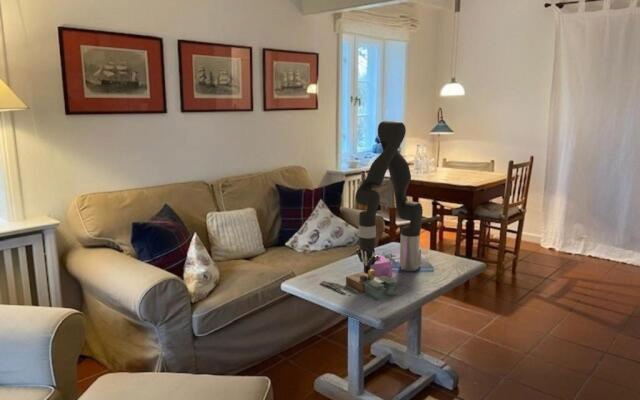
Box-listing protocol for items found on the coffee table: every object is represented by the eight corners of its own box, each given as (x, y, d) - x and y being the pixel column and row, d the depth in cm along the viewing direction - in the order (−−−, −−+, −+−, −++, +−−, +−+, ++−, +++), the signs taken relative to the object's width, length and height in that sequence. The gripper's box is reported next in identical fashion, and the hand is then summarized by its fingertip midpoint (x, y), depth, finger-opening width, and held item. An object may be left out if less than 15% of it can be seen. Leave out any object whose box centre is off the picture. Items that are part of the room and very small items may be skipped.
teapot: (398, 281, 223) (398, 260, 220) (378, 285, 218) (378, 264, 216) (377, 269, 239) (378, 249, 236) (359, 272, 234) (359, 252, 232)
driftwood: (317, 284, 222) (317, 280, 221) (329, 281, 226) (329, 276, 226) (348, 299, 206) (348, 294, 206) (360, 295, 210) (360, 290, 210)
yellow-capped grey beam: (371, 279, 214) (372, 269, 213) (384, 285, 208) (384, 274, 207) (367, 280, 213) (367, 270, 212) (379, 286, 206) (379, 275, 205)
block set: (365, 279, 226) (365, 267, 224) (396, 294, 209) (396, 281, 207) (346, 284, 220) (346, 272, 218) (376, 300, 203) (376, 287, 201)
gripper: (384, 237, 207) (383, 275, 211) (364, 230, 218) (364, 266, 222) (370, 240, 203) (369, 279, 207) (351, 232, 214) (351, 270, 218)
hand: (366, 272), depth 215 cm, fingers closed
